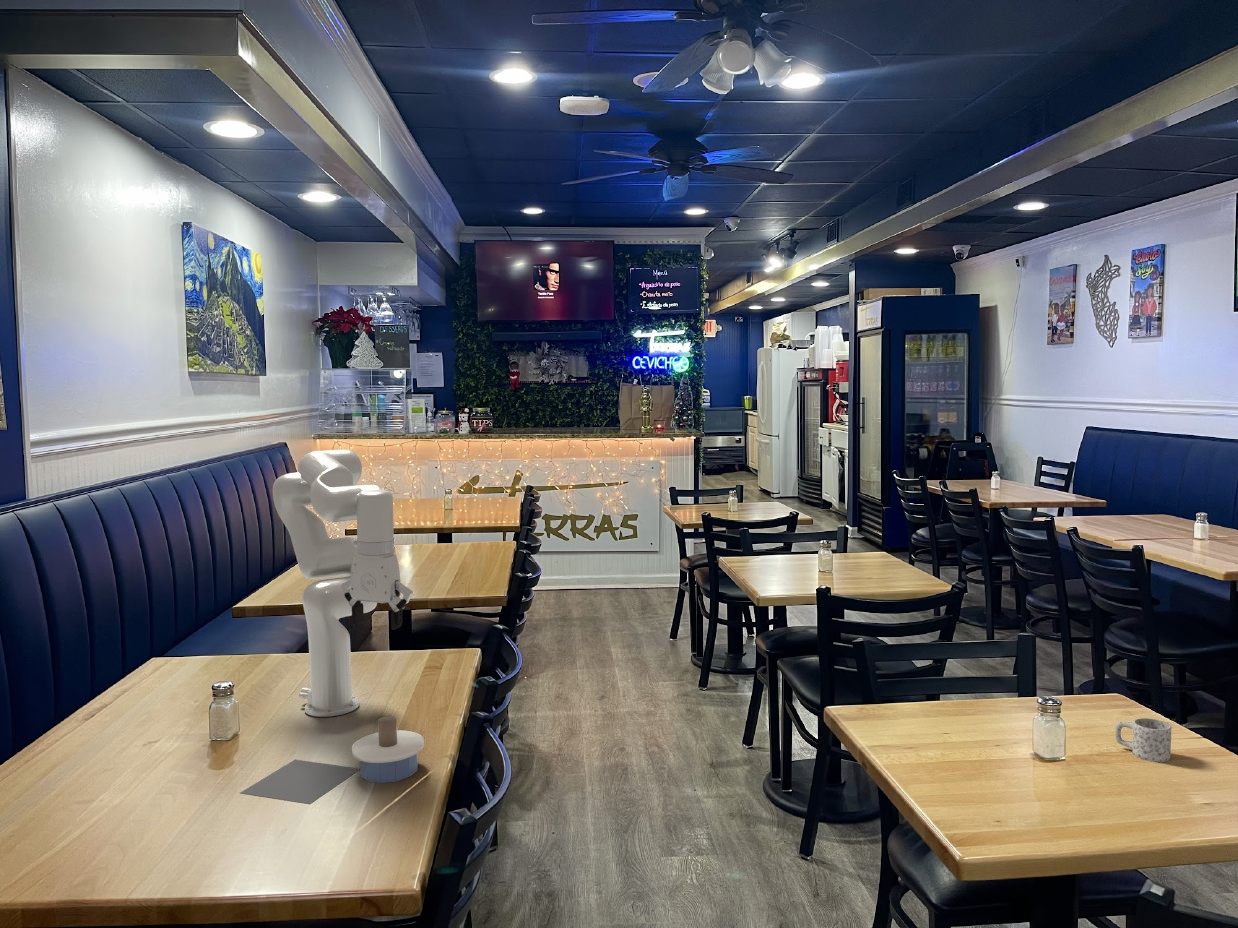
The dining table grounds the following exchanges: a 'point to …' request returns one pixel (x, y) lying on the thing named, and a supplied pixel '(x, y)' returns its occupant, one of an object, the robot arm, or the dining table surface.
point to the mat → (301, 781)
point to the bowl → (388, 770)
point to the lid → (387, 743)
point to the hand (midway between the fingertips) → (377, 625)
